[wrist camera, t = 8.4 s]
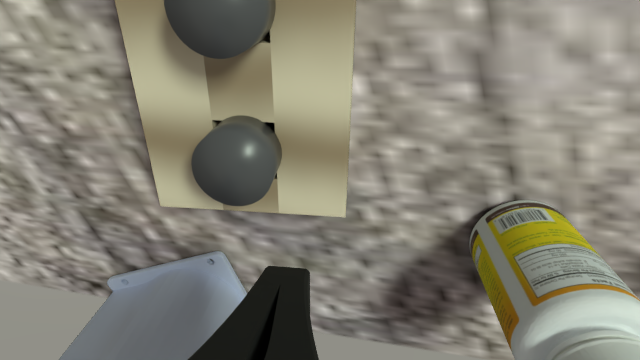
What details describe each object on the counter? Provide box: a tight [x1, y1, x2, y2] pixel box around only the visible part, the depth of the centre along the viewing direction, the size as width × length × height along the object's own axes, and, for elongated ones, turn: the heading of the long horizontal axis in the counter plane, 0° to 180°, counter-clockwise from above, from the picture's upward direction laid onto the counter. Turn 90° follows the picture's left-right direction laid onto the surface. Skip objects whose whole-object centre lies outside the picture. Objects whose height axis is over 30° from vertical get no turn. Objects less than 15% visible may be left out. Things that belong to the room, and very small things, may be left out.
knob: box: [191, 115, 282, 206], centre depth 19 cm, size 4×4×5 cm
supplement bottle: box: [469, 200, 640, 360], centre depth 18 cm, size 6×6×10 cm
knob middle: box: [164, 0, 276, 59], centre depth 15 cm, size 4×4×5 cm
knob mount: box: [115, 0, 356, 217], centre depth 16 cm, size 20×10×3 cm, turn 0°
